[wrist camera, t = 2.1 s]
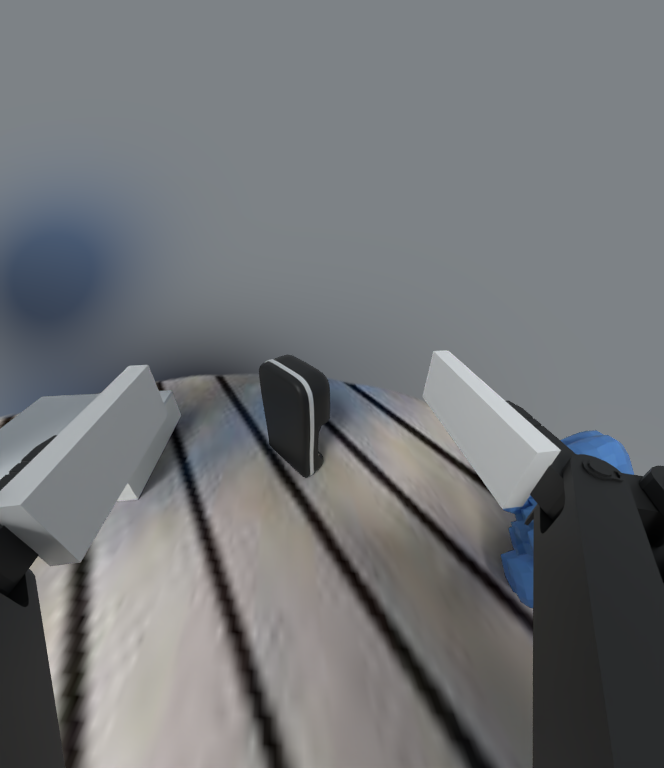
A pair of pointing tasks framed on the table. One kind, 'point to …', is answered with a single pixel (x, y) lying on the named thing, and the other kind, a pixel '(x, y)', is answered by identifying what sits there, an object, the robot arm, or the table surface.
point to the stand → (56, 414)
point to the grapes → (522, 535)
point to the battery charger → (295, 410)
